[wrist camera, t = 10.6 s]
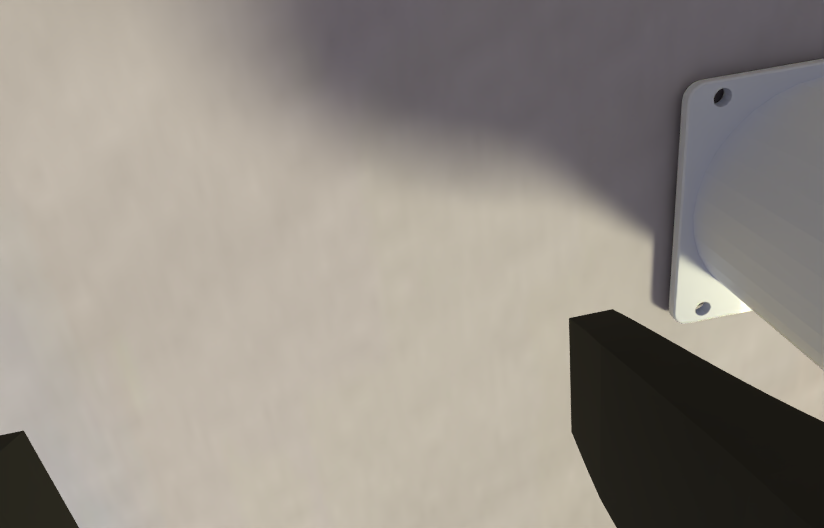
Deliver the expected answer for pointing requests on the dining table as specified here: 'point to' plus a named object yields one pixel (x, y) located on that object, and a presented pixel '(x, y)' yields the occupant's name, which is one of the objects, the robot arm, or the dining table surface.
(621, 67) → the dining table surface
